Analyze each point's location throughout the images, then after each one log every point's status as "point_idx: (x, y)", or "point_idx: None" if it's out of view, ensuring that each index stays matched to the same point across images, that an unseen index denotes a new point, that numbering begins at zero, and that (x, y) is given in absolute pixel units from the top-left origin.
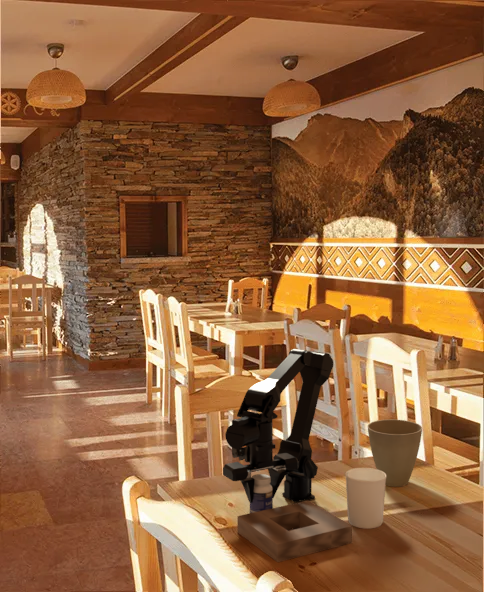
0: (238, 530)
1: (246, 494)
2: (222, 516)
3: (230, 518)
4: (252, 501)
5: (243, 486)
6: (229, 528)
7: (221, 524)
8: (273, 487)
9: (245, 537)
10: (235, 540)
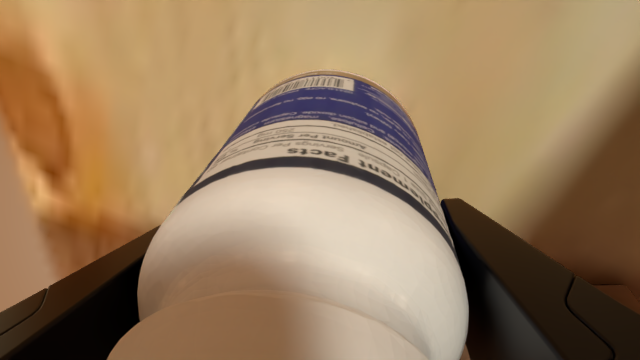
0: None
1: (119, 253)
2: (41, 43)
3: (99, 105)
4: None
5: (3, 319)
6: (80, 237)
7: (33, 170)
8: (476, 356)
9: None
10: None
